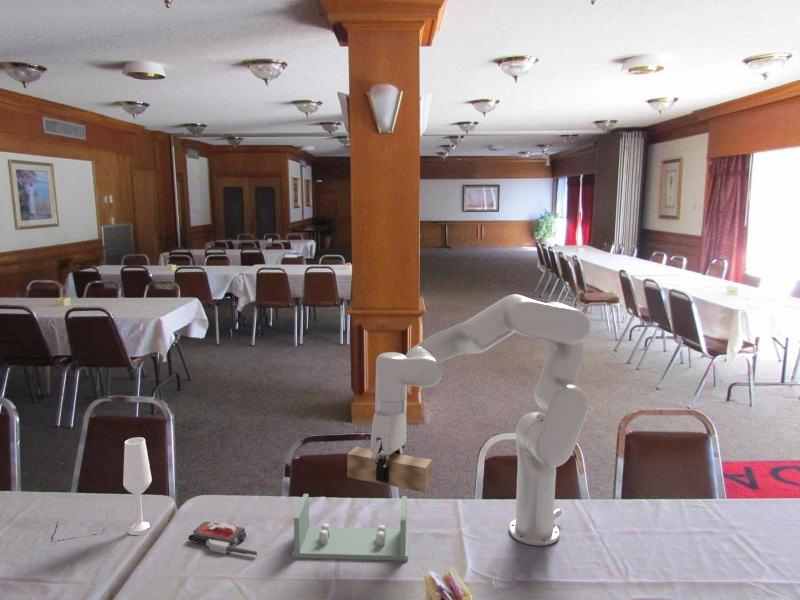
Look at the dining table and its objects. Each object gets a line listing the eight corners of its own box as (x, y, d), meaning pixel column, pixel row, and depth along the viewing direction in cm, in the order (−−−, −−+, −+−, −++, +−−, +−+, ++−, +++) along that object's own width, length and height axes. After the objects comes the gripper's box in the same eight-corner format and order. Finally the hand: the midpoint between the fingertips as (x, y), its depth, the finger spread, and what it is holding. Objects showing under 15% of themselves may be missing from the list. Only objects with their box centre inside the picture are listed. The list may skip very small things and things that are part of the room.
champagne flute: (120, 532, 153) (114, 443, 149) (140, 520, 159) (135, 434, 155) (140, 538, 150) (134, 447, 147) (160, 525, 156) (155, 438, 153)
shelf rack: (409, 533, 153) (409, 496, 151) (407, 560, 141) (408, 520, 140) (302, 530, 154) (301, 493, 153) (292, 557, 142) (291, 517, 141)
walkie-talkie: (182, 547, 147) (254, 561, 141) (181, 530, 146) (254, 544, 141) (203, 529, 155) (272, 542, 150) (203, 513, 155) (272, 525, 149)
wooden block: (347, 477, 146) (347, 453, 145) (355, 469, 151) (356, 446, 150) (424, 492, 139) (425, 467, 138) (431, 483, 144) (432, 459, 143)
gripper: (395, 393, 151) (393, 460, 154) (357, 411, 136) (356, 486, 139) (421, 398, 148) (418, 467, 150) (386, 417, 133) (384, 494, 135)
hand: (388, 475), depth 145 cm, fingers closed on wooden block, 5 cm apart
